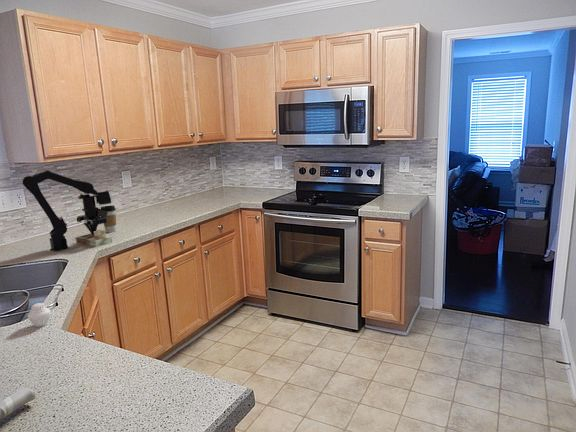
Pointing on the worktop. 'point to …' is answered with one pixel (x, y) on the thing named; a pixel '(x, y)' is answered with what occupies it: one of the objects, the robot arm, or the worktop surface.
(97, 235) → the beech block
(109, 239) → the trap board
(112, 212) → the coffee cup
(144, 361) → the worktop surface
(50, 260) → the worktop surface
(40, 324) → the pale grey rounded lump
